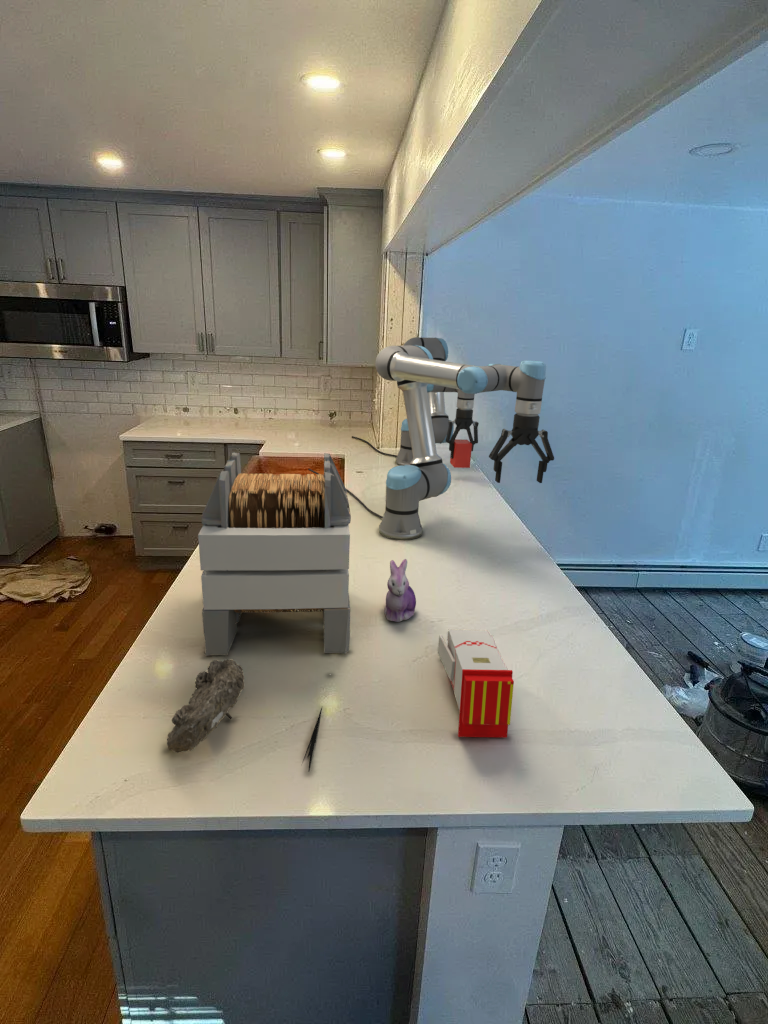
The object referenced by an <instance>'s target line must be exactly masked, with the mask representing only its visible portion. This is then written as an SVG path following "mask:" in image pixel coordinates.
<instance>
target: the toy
mask: <svg viewBox="0 0 768 1024" xmlns="http://www.w3.org/2000/svg"><path fill="white" fill-rule="evenodd" d="M446 640H447V643H446V641H445V639H444V636H443V635H442V634H439V637H438V646H437V656H438V657H439V659H440V661H441V663H442V666H443V668H444V670H445V672H446V674H447V677H448V679H449V681H450V684H451V687H452V690H453V693H454V697H455V701H456V705H457V708H458V711H459V714H458V715H459V716H458V730H457V731H458V732H457V737H458V738H508V731H509V726H510V725H511V717H512V707H513V697H514V696H513V695H514V684H515V680H514V679H513V673H514V671H513V670H512V669H508V667H507V665H506V662H505V661H504V659H503V658H502V655H501V653H500V651H499V649H498V647H497V643H496V639H495V637H494V635H493V634H491V632H490V631H489V629H467V628H466V629H465V628H463V629H461V628H460V629H459V628H448V630H447V639H446Z"/></svg>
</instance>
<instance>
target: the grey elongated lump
mask: <svg viewBox="0 0 768 1024" xmlns="http://www.w3.org/2000/svg"><path fill="white" fill-rule="evenodd" d="M243 670H244V669H243V667H242V665H240V664H237V662H236V661H235V660H234V659H232V658H231V659H227V658H226V659H224V660H223V661H222V660H217V659H212V660H211V661H210V663H209V665H208V666H207V671H201V672H199V673H198V674H197V675H196V676H195V680H194V684H195V685H194V687H195V689H194V690H193V693H192V694H191V697H190V698H189V700H188V704H184V705H182V706H181V707H180V709H177V710H176V711H175V713H174V715H173V716H172V718H171V723H172V724H173V727H172V730H171V731H170V732H168V734H167V738H166V741H167V742H166V745H167V749H168V750H169V751H173V752H174V753H176V754H178V753H182V752H188V751H189V752H192V751H193V750H195V748H196V747H197V746H199V744H200V743H201V742H203V741H204V740H205V739H206V738H207V737H208V736H209V735H210V734H211V733H212V732H214V730H215V729H217V727H218V726H219V724H220V722H221V721H222V720H223V719H224V718H225V716H226V717H227V719H229V720H233V717H232V715H230V714H229V710H230V709H231V708H234V706H235V704H236V703H237V702H238V699H239V697H240V695H241V693H242V691H243V690H245V689H244V688H245V675H244V671H243Z"/></svg>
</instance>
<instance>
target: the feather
mask: <svg viewBox="0 0 768 1024" xmlns="http://www.w3.org/2000/svg"><path fill="white" fill-rule="evenodd" d="M329 675H330V676H331V675H332V674H331V673H330V674H329ZM322 710H323V707H321V708H320V710H319V713H318V716H317V719H316V723H315V725H314V728H313V731H312V733H311V737H310V739H309V742H308V745H307V748H306V751H305V754H304V757H303V760H302V763H301V767H302V765H303V763H304V761H305V758H308V759H309V760H308V762H307V763H308V764H307V766H308V771H310V770H311V766H312V765H311V764H312V760H313V757H315V756H314V755H315V751H316V749H315V746H317V739H318V733H319V729H320V722H321V717H322V712H323V711H322ZM313 754H314V755H313ZM306 755H307V757H306Z"/></svg>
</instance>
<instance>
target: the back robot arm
mask: <svg viewBox="0 0 768 1024" xmlns="http://www.w3.org/2000/svg"><path fill="white" fill-rule="evenodd" d="M405 345H416V346H422V347H425V348H426V349H427V350H428V351H429V352H430V353H431V355H432V357H433V360H440V361H446V362H447V360H448V358H449V347H448V343H447V342H446V340H445V339H444V338H441V337H422V336H415V337H411V338H409V339H408V340H407V341H405V342H404V344H403V345H402V346H405ZM427 393H428V400H429V406H430V413H431V419H432V425H433V432H434V438H435V444H440V445H441V444H448V451H449V452H450V454H449V455H450V457H451V458H452V459H453V456H454V444H453V443H454V441H455V439H457V437H458V434H459V432H460V430H464V431H466V433H467V437H468V441H469V442H471V443H472V451H471V452H473V451H474V446H475V445H477V444H478V443H479V430H478V429H479V421H477V420H473V418H474V417H473V416H474V409H473V408H474V405H475V396H476V394H468V393H464V392H463V391H462V390H460V389H455V388H449V387H444V386H438V385H433V384H428V385H427ZM445 393H457V397H456V398H457V399H456V409H455V419H454V420H451V419H450V418H449V416H450V415H448V414H447V413H446V404H445V403H446V402H445ZM454 425H455V426H454ZM472 426H473V434H472V430H471V427H472ZM454 427H455V428H454ZM351 438H352V439H355V440H359V441H362V442H364V443H366V444H367V445H369V446H370V447H371V448H372V449H373V450H374V451H375V452H378V453H379V454H380V455H384V456H388V457H394V458H396V459H395V464H396V465H397V466H400V465H403V466H404V465H410V463H411V461H412V460H413V452H412V446H411V440H410V434H409V427H408V421H407V418H405V419H403V420H402V422H401V427H400V445H399V450H398V453H397V455H396V454H391V453H388V452H387V453H386V452H382V451H381V450H378V449H377V448H376V447H374V446H373V445H372V444H371V443H370V442H369V441H367V440H365V439H363V438H360V437H357V436H353V435H351Z"/></svg>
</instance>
